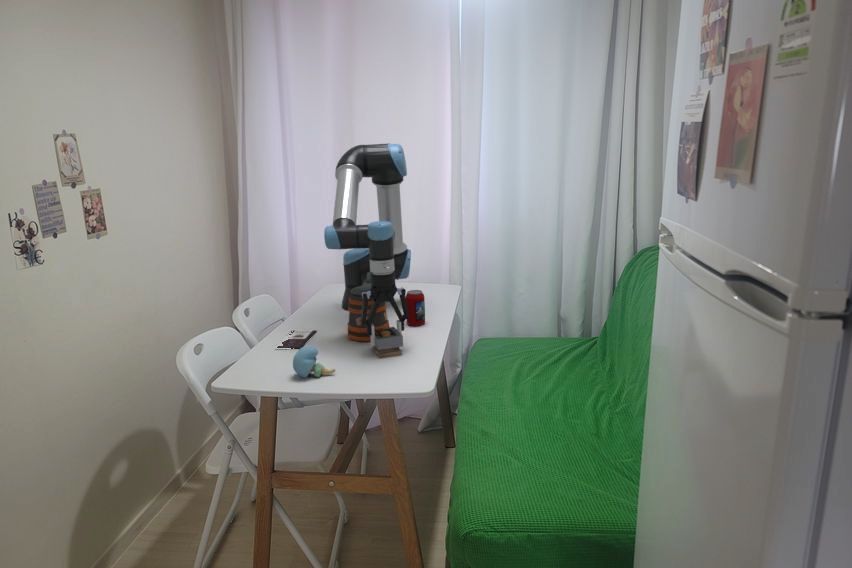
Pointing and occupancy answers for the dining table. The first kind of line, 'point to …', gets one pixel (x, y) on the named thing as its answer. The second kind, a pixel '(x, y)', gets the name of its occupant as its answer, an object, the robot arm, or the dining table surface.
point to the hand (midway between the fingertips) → (386, 342)
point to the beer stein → (355, 306)
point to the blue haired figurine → (308, 363)
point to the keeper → (389, 351)
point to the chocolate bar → (298, 339)
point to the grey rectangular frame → (388, 338)
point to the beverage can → (415, 307)
